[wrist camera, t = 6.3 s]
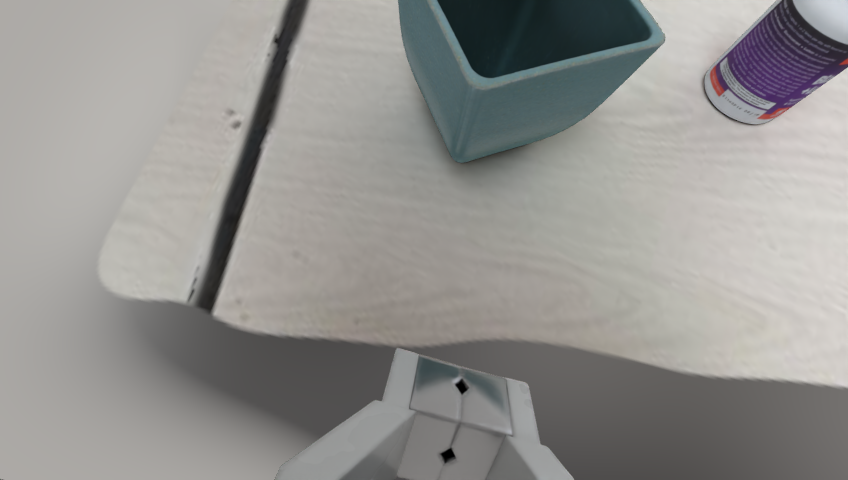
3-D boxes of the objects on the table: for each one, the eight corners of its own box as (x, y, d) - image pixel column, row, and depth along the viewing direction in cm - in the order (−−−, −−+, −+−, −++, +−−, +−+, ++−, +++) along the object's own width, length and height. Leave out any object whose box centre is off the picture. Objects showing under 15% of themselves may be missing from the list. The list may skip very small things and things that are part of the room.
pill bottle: (766, 140, 26) (969, 6, 17) (691, 100, 27) (848, -50, 18) (784, 89, 28) (976, -57, 19) (714, 52, 29) (866, -105, 20)
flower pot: (573, 161, 24) (675, 38, 16) (440, 204, 22) (474, 89, 14) (511, 54, 27) (569, -100, 18) (387, 84, 25) (388, -73, 16)
